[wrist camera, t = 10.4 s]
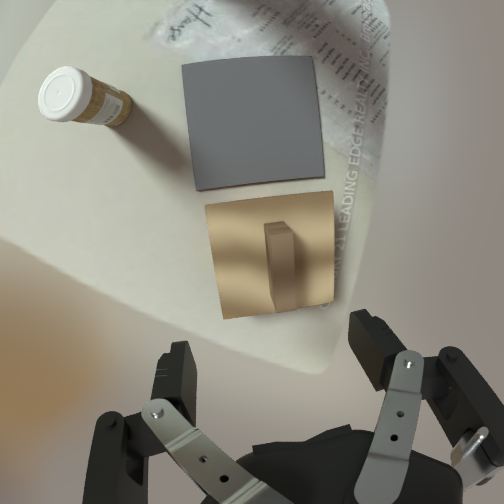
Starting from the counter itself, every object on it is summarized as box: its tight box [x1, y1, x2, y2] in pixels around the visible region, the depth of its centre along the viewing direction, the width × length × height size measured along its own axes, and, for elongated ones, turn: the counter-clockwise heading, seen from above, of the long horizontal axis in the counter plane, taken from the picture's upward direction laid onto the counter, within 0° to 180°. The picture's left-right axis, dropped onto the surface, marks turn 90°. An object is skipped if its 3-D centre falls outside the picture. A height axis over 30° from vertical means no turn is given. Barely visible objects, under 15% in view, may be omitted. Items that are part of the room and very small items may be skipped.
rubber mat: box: [182, 56, 324, 191], centre depth 30 cm, size 15×15×1 cm
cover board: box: [205, 191, 334, 319], centre depth 29 cm, size 13×13×5 cm
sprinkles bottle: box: [38, 66, 131, 127], centre depth 22 cm, size 5×5×14 cm
